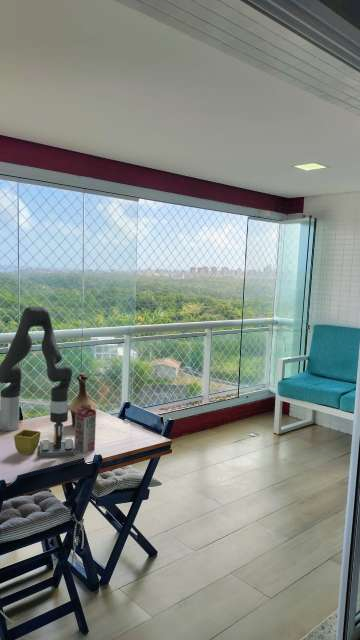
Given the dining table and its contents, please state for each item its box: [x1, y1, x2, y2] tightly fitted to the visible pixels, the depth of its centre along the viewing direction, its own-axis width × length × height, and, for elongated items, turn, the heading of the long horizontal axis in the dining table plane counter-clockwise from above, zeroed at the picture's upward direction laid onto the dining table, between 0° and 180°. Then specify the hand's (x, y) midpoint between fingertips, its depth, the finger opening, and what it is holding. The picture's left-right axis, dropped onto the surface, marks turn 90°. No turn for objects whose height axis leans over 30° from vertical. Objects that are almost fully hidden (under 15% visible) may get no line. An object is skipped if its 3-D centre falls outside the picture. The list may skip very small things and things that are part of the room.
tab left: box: [42, 437, 50, 450], centre depth 220 cm, size 3×2×4 cm
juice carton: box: [73, 402, 97, 454], centre depth 227 cm, size 7×7×22 cm
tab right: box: [65, 437, 73, 449], centre depth 222 cm, size 3×2×4 cm
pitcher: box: [68, 372, 100, 428], centre depth 262 cm, size 18×17×28 cm
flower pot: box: [13, 429, 42, 456], centre depth 220 cm, size 9×9×9 cm
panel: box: [39, 439, 75, 459], centre depth 225 cm, size 15×16×2 cm
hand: (58, 448), depth 217 cm, fingers closed
